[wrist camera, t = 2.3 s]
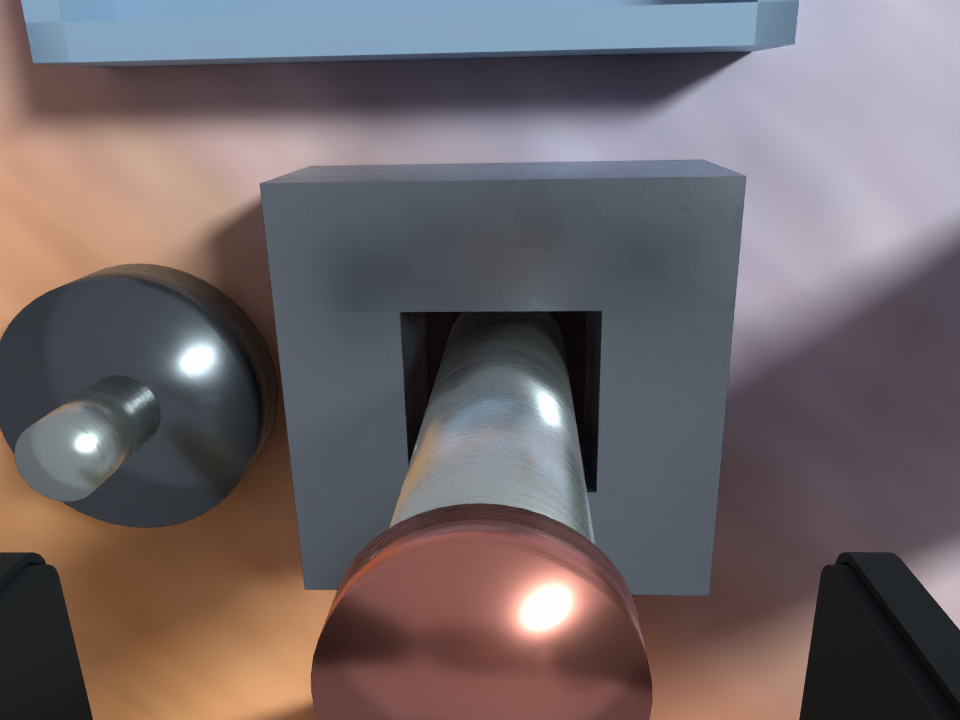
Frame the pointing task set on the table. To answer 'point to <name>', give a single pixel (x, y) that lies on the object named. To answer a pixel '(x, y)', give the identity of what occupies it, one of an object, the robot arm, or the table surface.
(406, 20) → the tray
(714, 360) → the block
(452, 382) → the lock pin
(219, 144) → the table surface
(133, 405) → the dark knobbed lid
